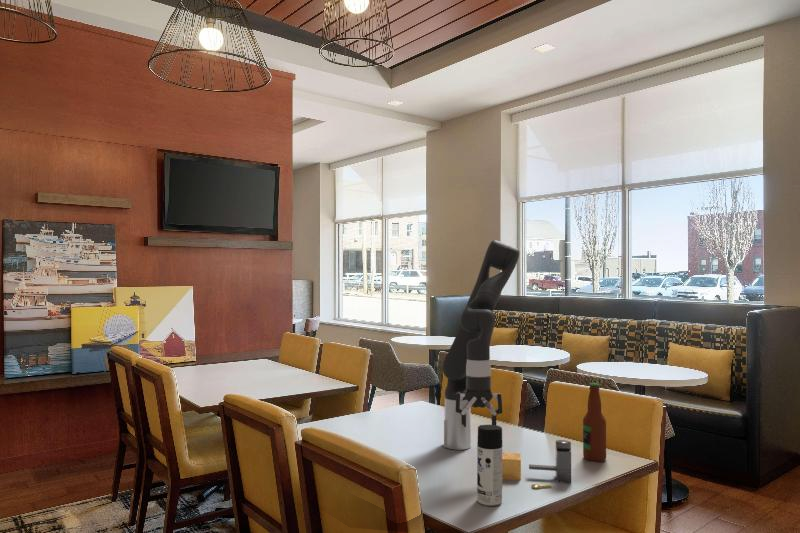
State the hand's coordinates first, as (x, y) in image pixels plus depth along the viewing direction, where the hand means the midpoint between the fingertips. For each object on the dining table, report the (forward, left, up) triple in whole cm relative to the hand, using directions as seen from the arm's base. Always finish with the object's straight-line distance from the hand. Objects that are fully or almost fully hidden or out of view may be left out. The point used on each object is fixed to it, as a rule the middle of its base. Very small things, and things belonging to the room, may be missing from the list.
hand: (479, 426), depth 177 cm
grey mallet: (+21, 0, -14) cm, 25 cm away
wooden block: (+9, 0, -14) cm, 17 cm away
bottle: (+37, +22, -15) cm, 45 cm away
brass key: (+19, -8, -14) cm, 25 cm away
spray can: (+4, -22, -15) cm, 27 cm away
